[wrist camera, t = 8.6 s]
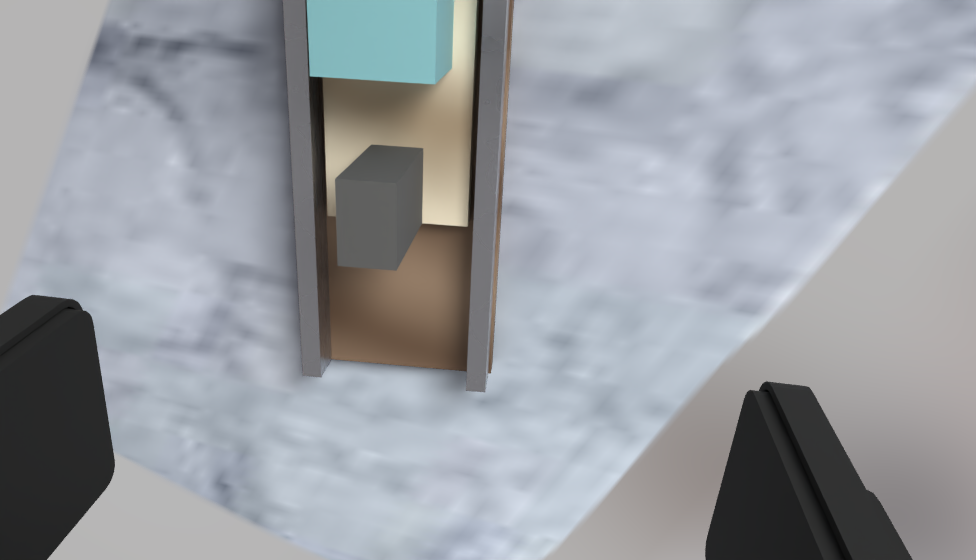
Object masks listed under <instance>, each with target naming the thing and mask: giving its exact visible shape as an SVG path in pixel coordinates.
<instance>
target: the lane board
mask: <svg viewBox="0 0 976 560" xmlns="http://www.w3.org/2000/svg"><path fill="white" fill-rule="evenodd" d="M513 8H514V0H479V17H478V40H477V63H476V87H475V110H474V134H473V157H472V181H471V204H470V221H469V224H468V227H464V226H451V225H438V224H425V223H422V225H421V226H420V228H419V230H418V232H417V234H416V236H415V238H414V239H413V241H412V243H411V245H410V247H409V249H408V250H407V252H406V254H405V256H404V258H403V260H402V262H401V263H400V265H399V267H398V269H397V271H393V270H381V269H369V268H357V267H344V266H338V262H337V229H336V217H334V216H328V213H327V184H326V156H325V127H324V99H323V77H313V76H310V66H309V42H308V18H307V0H283V16H284V35H285V54H286V72H287V91H288V110H289V128H290V147H291V166H292V185H293V203H294V222H295V241H296V260H297V278H298V297H299V316H300V335H301V353H302V372H303V376H313V377H322V375H323V373H324V371H325V370H326V368H327V366H328V365H329V363H330V361H331V359H336V360H347V361H358V362H369V363H381V364H392V365H403V366H414V367H425V368H436V369H448V370H459V371H467V379H466V391H477V392H485V389H486V384H487V378H488V373H491V369H492V360H493V343H494V326H495V309H496V293H497V276H498V259H499V242H500V226H501V209H502V192H503V175H504V158H505V142H506V125H507V108H508V91H509V75H510V58H511V41H512V24H513Z"/></svg>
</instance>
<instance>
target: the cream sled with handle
mask: <svg viewBox="0 0 976 560" xmlns="http://www.w3.org/2000/svg"><path fill="white" fill-rule="evenodd" d="M478 17H479V0H454V22H453V55H452V69H451V70H450V71H449V72H448V73H447V74H445V75H444V76H443V77H442V78H441V79H440V80H439V81H438V82H437V83H436V84H421V83H405V82H390V81H375V80H359V79H344V78H329V77H323V99H324V127H325V156H326V184H327V213H328V216H334V217H336V229H337V262H338V266H344V267H357V268H369V269H381V270H393V271H397V269H398V267H399V265H400V263H401V262H402V260H403V258H404V256H405V254H406V252H407V250H408V249H409V247H410V245H411V243H412V241H413V239H414V238H415V236H416V234H417V232H418V230H419V228H420V226H421V225H422V223H425V224H438V225H451V226H464V227H468V224H469V221H470V204H471V181H472V157H473V134H474V110H475V87H476V63H477V40H478Z"/></svg>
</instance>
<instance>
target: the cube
mask: <svg viewBox="0 0 976 560" xmlns="http://www.w3.org/2000/svg"><path fill="white" fill-rule="evenodd" d="M307 18H308V42H309V66H310V76H313V77H329V78H344V79H359V80H375V81H390V82H405V83H421V84H436V83H437V82H438V81H439V80H440V79H441V78H442V77H443V76H444V75H445V74H447V73H448V72H449V71H450V70H451V69H452V55H453V22H454V0H307Z"/></svg>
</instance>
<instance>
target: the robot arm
mask: <svg viewBox="0 0 976 560" xmlns="http://www.w3.org/2000/svg"><path fill="white" fill-rule="evenodd" d="M114 467H115V460H114V453H113V447H112V440H111V434H110V428H109V421H108V415H107V408H106V402H105V396H104V389H103V383H102V376H101V370H100V364H99V357H98V351H97V344H96V338H95V331H94V325H93V320H92V317H91V315H90V314H89V313H88V312H86V311H83V310H82V307H81V306H80V304H79V303H78V302H77V301H75V300H73V299H64V298H56V297H48V296H39V295H31V296H29V297H27V298H25V299H23V300H22V301H20V302H19V303H17V304H16V305H14V306H13V307H11V308H10V309H8V310H7V311H5V312H4V313H2V314H1V315H0V560H47V559H48V558H49V556H50V555H51V554H52V553H53V552H54V550H55V549H56V548H57V547H58V546H59V544H60V543H61V542H62V541H63V539H64V538H65V537H66V536H67V535H68V533H69V532H70V531H71V530H72V529H73V528H74V526H75V525H76V524H77V523H78V522H79V520H80V519H81V518H82V517H83V516H84V514H85V513H86V512H87V511H88V510H89V508H90V507H91V506H92V505H93V504H94V502H95V501H96V500H97V499H98V498H99V496H100V495H101V494H102V493H103V492H104V490H105V489H106V488H107V486H108V485H109V483H110V481H111V479H112V476H113V473H114ZM705 551H706V552H705V557H706V560H912V558H911V556H910V554H909V553H908V551H907V549H906V547H905V546H904V544H903V542H902V540H901V538H900V537H899V535H898V533H897V532H896V530H895V528H894V526H893V524H892V522H891V521H890V519H889V517H888V516H887V513H886V512H885V510H884V508H883V506H882V505H881V503H880V501H879V500H878V499H877V497H876V496H875V495H874V494H873V493H872V492H870V491H868V490H866V488H865V486H864V485H863V483H862V481H861V479H860V477H859V476H858V474H857V472H856V470H855V468H854V467H853V465H852V463H851V461H850V459H849V457H848V456H847V454H846V452H845V450H844V448H843V446H842V445H841V443H840V441H839V439H838V437H837V436H836V434H835V432H834V430H833V428H832V426H831V425H830V423H829V421H828V419H827V417H826V416H825V414H824V412H823V410H822V408H821V406H820V405H819V403H818V401H817V399H816V397H815V395H814V394H813V392H812V390H811V389H810V388H809V387H806V386H800V385H791V384H782V383H774V382H765V383H763V384H762V386H761V387H760V389H759V391H753V390H749V391H748V392H747V394H746V395H745V398H744V402H743V405H742V409H741V412H740V416H739V420H738V424H737V428H736V431H735V435H734V439H733V442H732V446H731V450H730V453H729V457H728V461H727V465H726V468H725V472H724V476H723V480H722V483H721V487H720V491H719V494H718V498H717V502H716V506H715V509H714V514H713V517H712V521H711V524H710V528H709V532H708V536H707V540H706V550H705Z"/></svg>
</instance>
